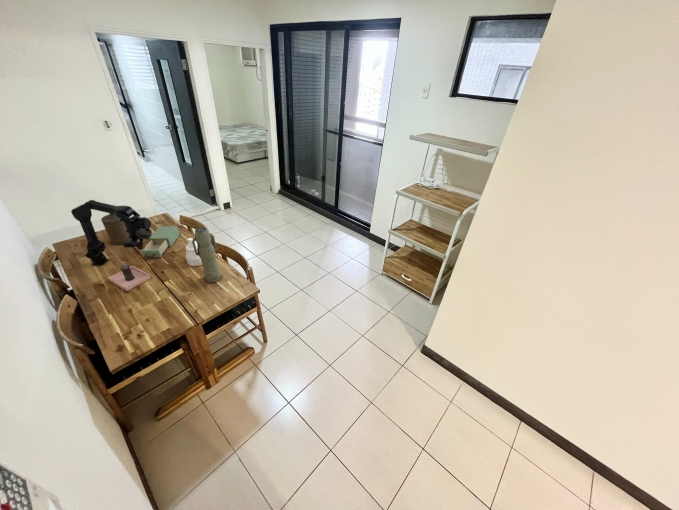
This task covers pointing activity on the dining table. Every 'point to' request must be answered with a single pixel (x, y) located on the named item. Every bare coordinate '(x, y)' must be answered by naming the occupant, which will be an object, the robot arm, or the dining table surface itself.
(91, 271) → the dining table surface
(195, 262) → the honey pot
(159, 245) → the drawer
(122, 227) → the wooden container
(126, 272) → the pepper mill
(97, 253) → the robot arm
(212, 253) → the thermos
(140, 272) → the tray
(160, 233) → the cabinet
